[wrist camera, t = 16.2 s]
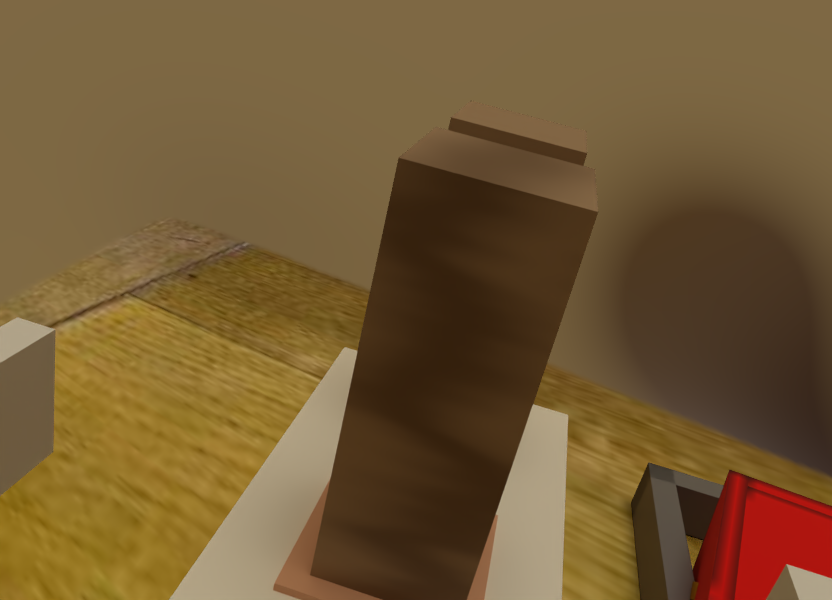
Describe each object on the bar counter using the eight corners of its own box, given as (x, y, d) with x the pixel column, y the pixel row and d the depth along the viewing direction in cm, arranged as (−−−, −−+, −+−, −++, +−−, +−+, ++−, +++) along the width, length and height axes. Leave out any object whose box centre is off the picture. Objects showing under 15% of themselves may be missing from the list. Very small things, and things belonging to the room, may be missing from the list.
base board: (550, 462, 38) (666, 146, 31) (527, 803, 22) (757, 300, 15) (334, 394, 39) (399, 77, 32) (160, 670, 23) (215, 149, 16)
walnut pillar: (478, 523, 28) (594, 169, 22) (457, 625, 23) (598, 211, 17) (353, 483, 28) (435, 126, 22) (309, 575, 24) (398, 157, 18)
